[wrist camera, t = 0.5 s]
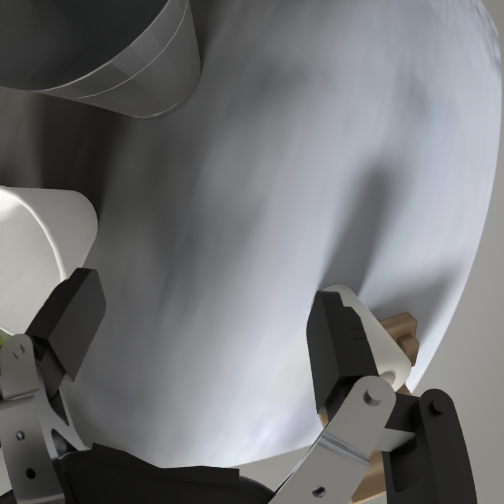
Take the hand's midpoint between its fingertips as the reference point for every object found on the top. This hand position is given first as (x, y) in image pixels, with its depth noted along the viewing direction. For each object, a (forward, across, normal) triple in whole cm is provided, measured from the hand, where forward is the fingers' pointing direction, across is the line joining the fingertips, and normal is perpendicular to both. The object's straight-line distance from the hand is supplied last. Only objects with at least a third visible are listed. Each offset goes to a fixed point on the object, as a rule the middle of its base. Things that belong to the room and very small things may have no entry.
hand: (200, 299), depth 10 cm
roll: (+17, -12, +15) cm, 26 cm away
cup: (+16, +17, +6) cm, 24 cm away
